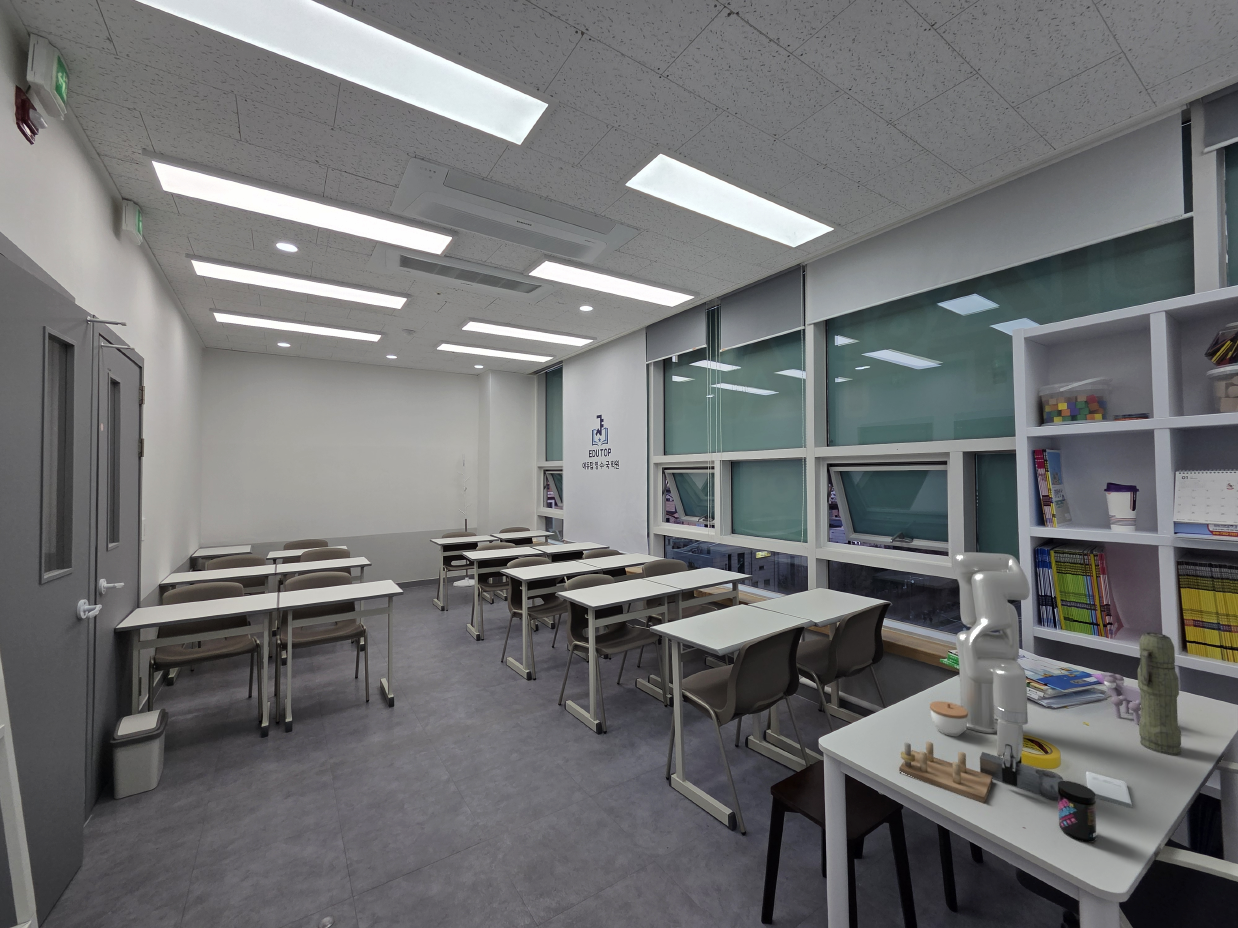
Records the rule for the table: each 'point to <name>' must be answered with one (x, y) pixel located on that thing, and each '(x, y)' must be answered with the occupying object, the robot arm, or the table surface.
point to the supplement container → (1077, 811)
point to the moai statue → (1158, 694)
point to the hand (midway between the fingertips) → (1012, 776)
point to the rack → (945, 773)
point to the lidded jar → (949, 717)
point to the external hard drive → (1109, 789)
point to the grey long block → (1023, 776)
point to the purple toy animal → (1121, 694)
